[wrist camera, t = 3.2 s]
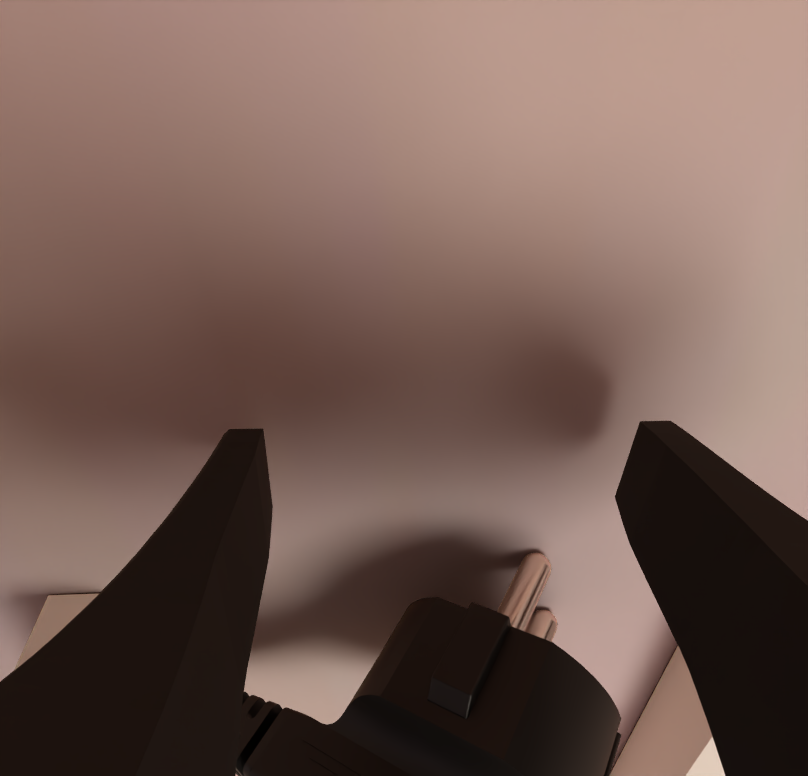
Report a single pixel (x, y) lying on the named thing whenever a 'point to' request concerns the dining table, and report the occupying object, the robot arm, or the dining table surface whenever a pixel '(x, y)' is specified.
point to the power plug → (452, 702)
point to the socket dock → (641, 757)
